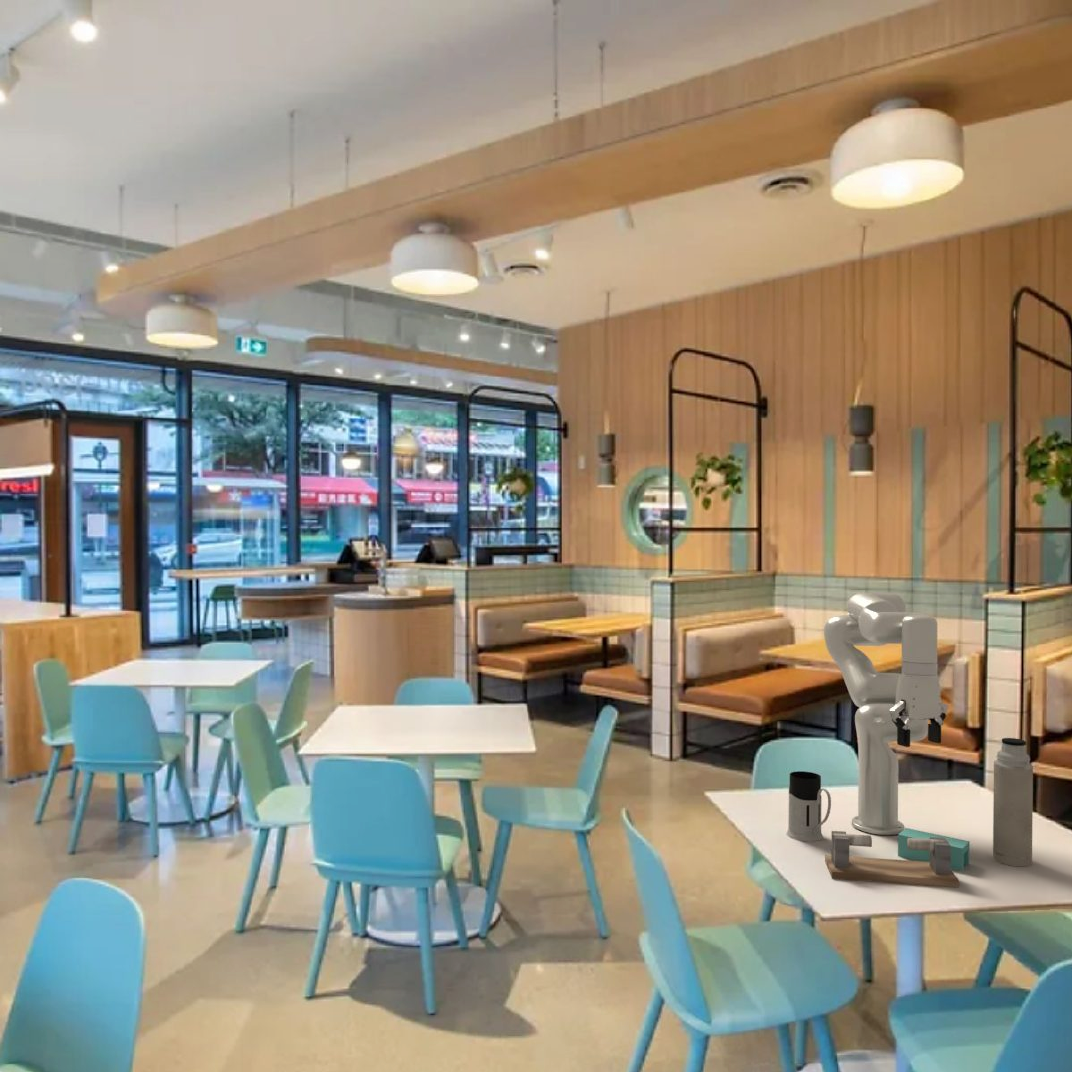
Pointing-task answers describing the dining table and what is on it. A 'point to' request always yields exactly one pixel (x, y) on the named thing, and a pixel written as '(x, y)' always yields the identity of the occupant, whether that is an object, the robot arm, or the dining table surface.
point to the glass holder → (806, 806)
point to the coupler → (958, 851)
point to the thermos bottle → (1013, 804)
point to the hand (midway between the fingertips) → (919, 743)
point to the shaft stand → (891, 862)
